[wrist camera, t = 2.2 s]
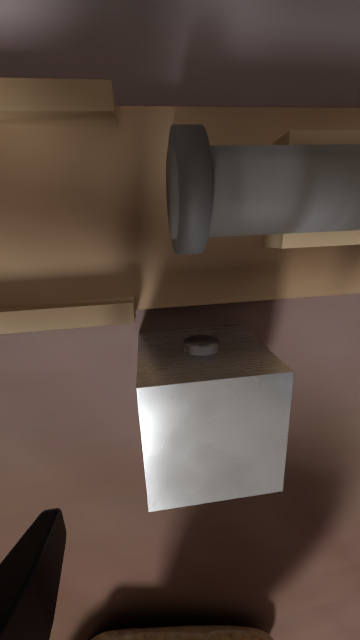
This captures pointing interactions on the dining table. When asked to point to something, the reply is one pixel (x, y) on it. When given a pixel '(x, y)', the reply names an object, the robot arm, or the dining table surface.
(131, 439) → the dining table surface
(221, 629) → the stone cup
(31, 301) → the shaft bench
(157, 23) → the dining table surface
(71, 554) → the dining table surface
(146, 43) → the dining table surface
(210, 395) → the block
